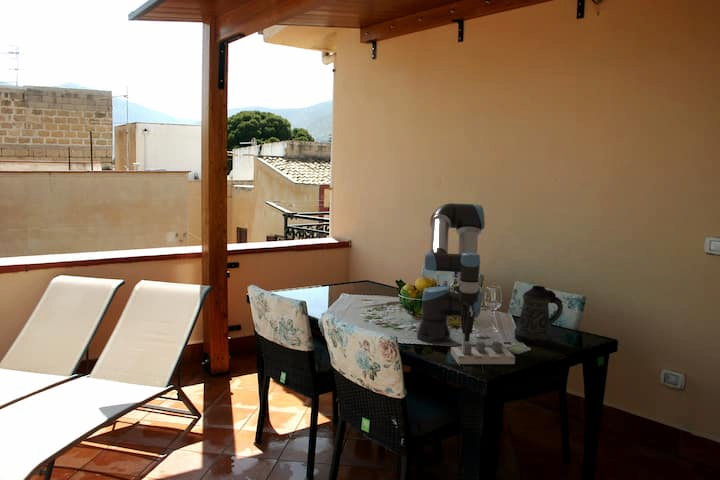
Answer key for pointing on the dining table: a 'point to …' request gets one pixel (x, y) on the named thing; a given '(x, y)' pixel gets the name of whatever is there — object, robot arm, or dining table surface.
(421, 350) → the dining table surface
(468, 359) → the switch bank
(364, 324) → the dining table surface
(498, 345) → the switch tab
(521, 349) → the handheld gaming console
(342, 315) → the dining table surface
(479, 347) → the switch tab
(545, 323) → the beer stein
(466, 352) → the switch tab
